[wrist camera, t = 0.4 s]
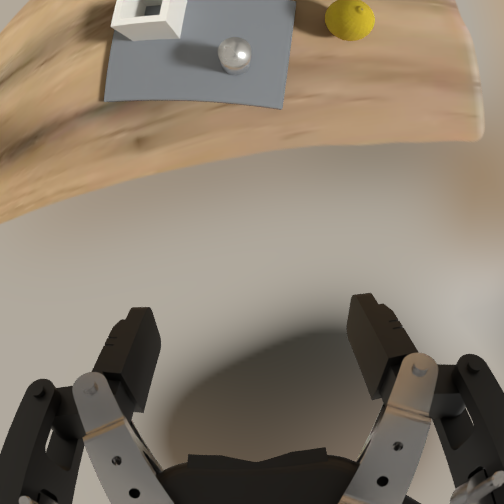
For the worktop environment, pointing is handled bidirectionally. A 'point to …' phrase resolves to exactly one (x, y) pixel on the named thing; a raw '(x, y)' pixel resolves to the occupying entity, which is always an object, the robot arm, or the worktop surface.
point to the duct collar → (149, 19)
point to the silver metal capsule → (235, 55)
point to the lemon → (349, 19)
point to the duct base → (207, 56)
